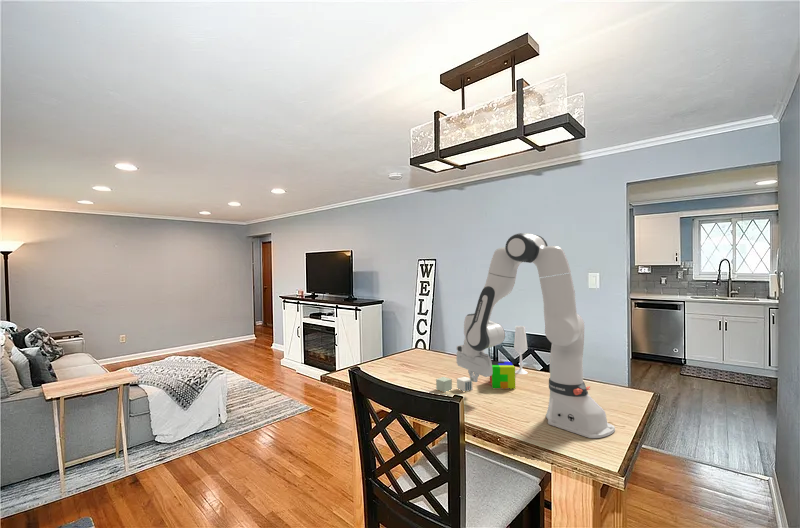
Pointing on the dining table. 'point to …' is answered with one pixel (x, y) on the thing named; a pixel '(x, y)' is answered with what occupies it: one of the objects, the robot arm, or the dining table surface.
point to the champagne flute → (520, 345)
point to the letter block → (464, 384)
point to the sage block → (443, 384)
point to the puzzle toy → (502, 375)
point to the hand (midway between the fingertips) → (473, 381)
